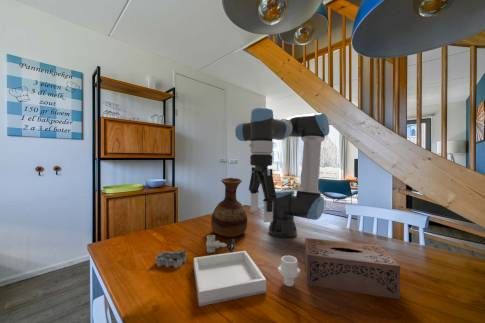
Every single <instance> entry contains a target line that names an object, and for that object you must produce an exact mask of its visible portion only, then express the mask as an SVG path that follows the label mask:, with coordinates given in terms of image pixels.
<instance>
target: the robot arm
mask: <svg viewBox="0 0 485 323" xmlns="http://www.w3.org/2000/svg"><path fill="white" fill-rule="evenodd" d="M329 124H330V123H329V120H328V117H327V115H326V114H325V113H323V112H317V113H316V112H314V113H310V114H309V113H308V114H301V115H295V116H290V117H287V118H280V119H278V118H275V117H274V111H273V109H271V108H270V107H256V108H253V109H252V110H251V114H250V122H243V123H239V124H237V125H236V126H235V129H234V131H235V137H236V139H237V140H238V141H240V142H249V141H250V143H249V147H250V153H251V154H250V157H249V158H250V160H249V162H250V163H249V164H250V166H252V167H251V175H250V181H249V186H248V191H250V192H249V193H250V212H258V211H259V193H260V191H259V188H260V185H261V190H262V193H263V196H264V197H263V198H264V199H263V200H262V201H263V223H269V226H268V233H269V235H271V236H274V237H276V238H283V239H284V238H293V237H296V236H297V234H298V229H297V227H296V222H295V219H294V218H295V217H297V218H303V219H307V220H312V221H318V220H319V219H320V218H321V217H322V215H323V212H324V209H325V197H324V196H321V195H322V194H321V191H320V190H319V179H320V178H319V177H320V165H321V164H320V163H321V149H322V148H321V146H322V142H324V141H325V138H326V136H329V134H330V125H329ZM288 137H289V138H291V137H292V138H300V139H301V141H302V142H303V148H302V149H303V150H302V160H301V161H302V163H301V171H300V172H301V174H300V183H299V184H300V187H298V189H296V193H295V190H294V189H282V190H276V189H275V188H276V187H275V182H274V176H273V175H274V174H273V169H272V168H268V167H271V166H273V155H272V153H273V151H274V150H273V146H274V145H273V144H274V141H273V140H277V141H283V140H285V139H287V138H288ZM253 166H254V167H253Z"/></svg>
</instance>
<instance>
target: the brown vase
mask: <svg viewBox="0 0 485 323" xmlns="http://www.w3.org/2000/svg"><path fill="white" fill-rule="evenodd" d="M221 182H222V183H223V185H224V187H225V188H224V190H225V191H224V198H223V200H221V201H220V202H219V203H218V204H217V205H216V207H215V208H214V210H213V212H212V215H211V219H210V227H211V229H212V231H213V232H214V233H216V234H218V235H220V236H223V237H229V238H232V237H233V238H234V237H238V236H240V235H242V234H244V233H245V232H246V231H247V228H248V215H247V212H246V210H245V207H244V206H243V205H242V203H241V202H240V201H238V199H237V191H238V187H239V186H240V184H241V183H242V182H243V180H242V179H240V178H236V177H235V178H234V177H227V178H222V179H221Z"/></svg>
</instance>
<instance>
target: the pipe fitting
mask: <svg viewBox="0 0 485 323" xmlns="http://www.w3.org/2000/svg"><path fill="white" fill-rule="evenodd" d="M298 262H299V261H298V259H297V258H296V257H295V256H293V255H283V256H281V258H280V265H279V266H278V267H277V271H278V273H280V275H282V276H283V284H284V285H285V286H287V287H294V285H295V278H297V277H298V276H299V275H300V274H301V268H299V267H298Z"/></svg>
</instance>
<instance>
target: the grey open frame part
mask: <svg viewBox="0 0 485 323" xmlns="http://www.w3.org/2000/svg"><path fill="white" fill-rule="evenodd" d="M187 253H188V251H187V250H180V251H169V252H168V251H162V252H160V253H158V254H157V255H156V256H155V258H156V259H155V260H156V261H155V262H156V263H155V265H157V266H156V267H161V266H165V268H169V267H173V268H174V269H178V268H179V267H182V266H183V263H186V262H187ZM175 259H176V260H175Z"/></svg>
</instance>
